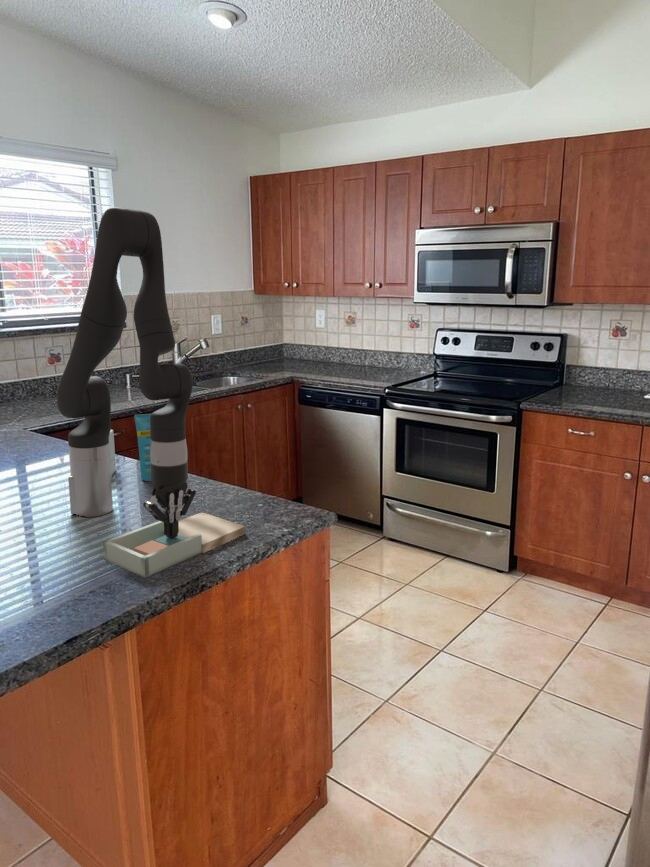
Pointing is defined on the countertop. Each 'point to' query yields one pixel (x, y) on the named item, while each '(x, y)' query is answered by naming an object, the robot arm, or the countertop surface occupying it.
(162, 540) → the teal square block
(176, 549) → the box
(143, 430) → the tube
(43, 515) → the countertop surface
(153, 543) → the terracotta tile
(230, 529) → the maple plate
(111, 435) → the supplement box
